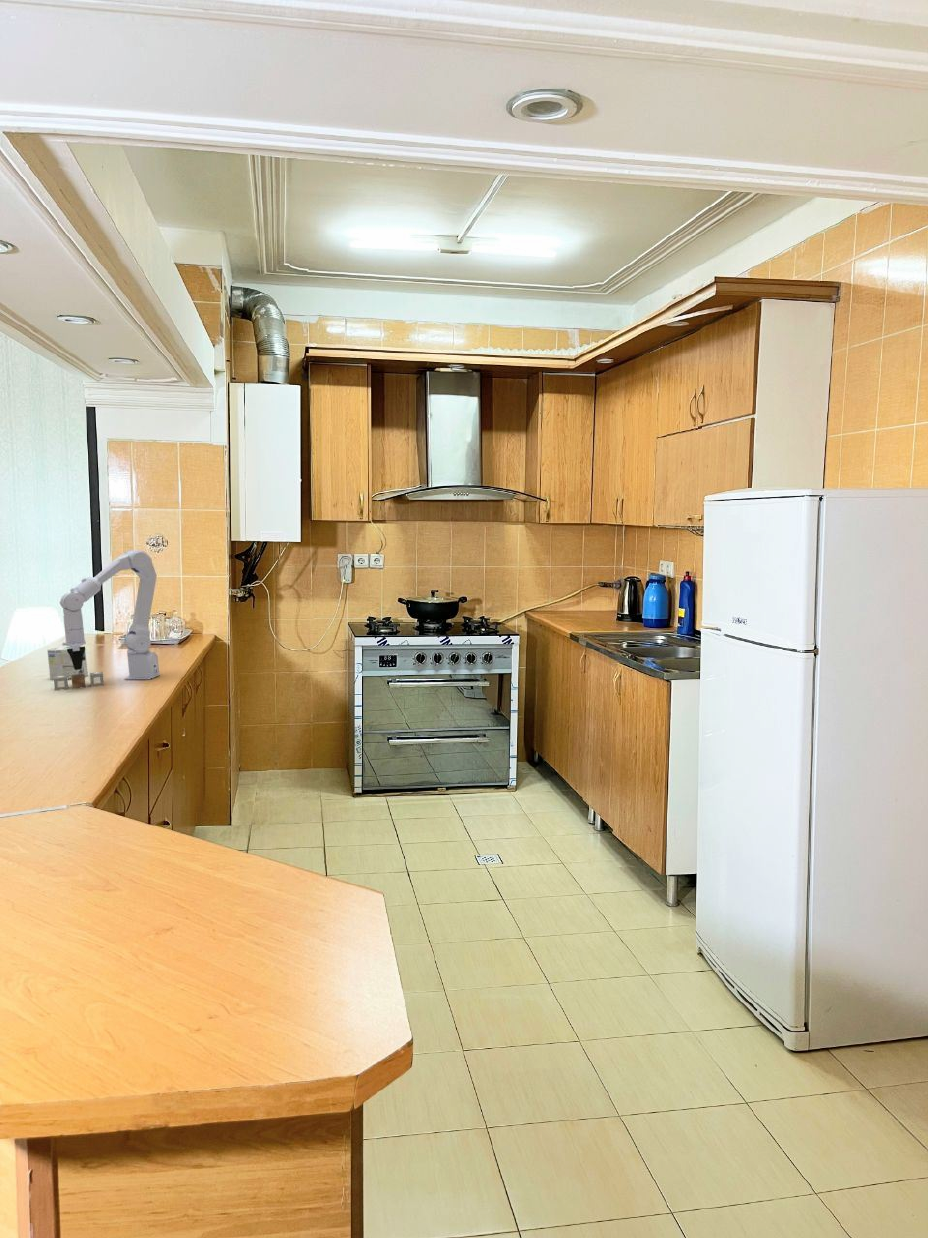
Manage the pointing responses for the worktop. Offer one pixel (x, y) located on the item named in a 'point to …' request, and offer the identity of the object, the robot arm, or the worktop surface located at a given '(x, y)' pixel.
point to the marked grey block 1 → (60, 682)
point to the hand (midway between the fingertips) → (78, 669)
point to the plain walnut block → (78, 680)
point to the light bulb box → (64, 663)
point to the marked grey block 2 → (96, 678)
